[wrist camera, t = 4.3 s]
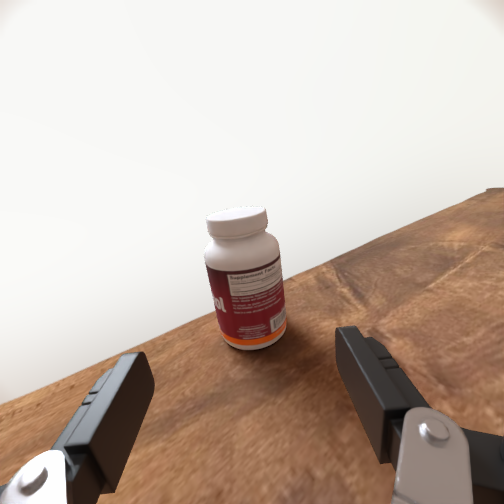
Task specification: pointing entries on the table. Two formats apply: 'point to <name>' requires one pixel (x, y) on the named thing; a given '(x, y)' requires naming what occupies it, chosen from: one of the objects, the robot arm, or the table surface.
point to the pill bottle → (245, 278)
